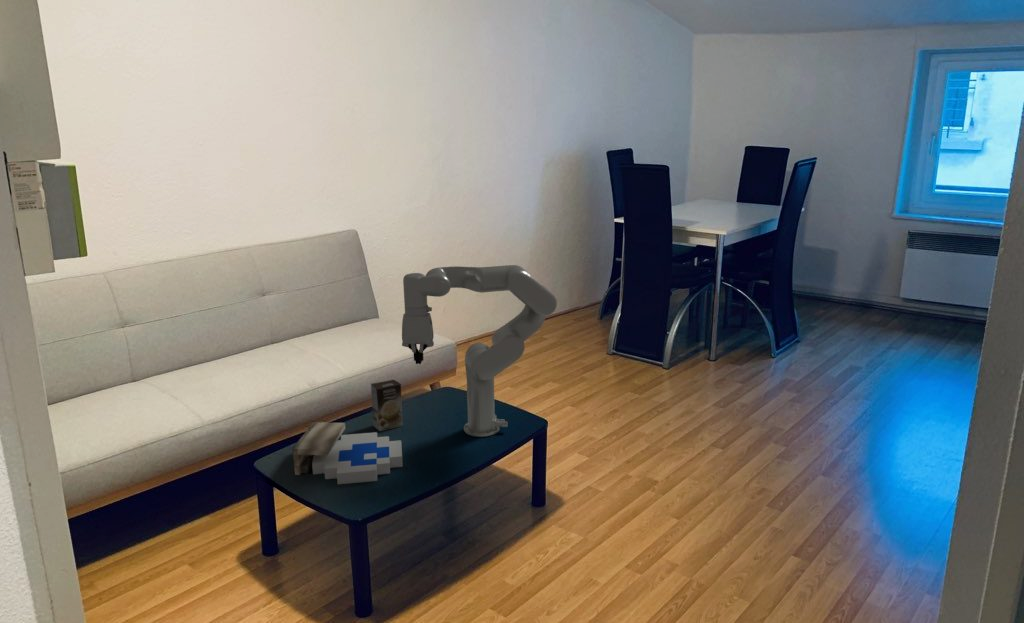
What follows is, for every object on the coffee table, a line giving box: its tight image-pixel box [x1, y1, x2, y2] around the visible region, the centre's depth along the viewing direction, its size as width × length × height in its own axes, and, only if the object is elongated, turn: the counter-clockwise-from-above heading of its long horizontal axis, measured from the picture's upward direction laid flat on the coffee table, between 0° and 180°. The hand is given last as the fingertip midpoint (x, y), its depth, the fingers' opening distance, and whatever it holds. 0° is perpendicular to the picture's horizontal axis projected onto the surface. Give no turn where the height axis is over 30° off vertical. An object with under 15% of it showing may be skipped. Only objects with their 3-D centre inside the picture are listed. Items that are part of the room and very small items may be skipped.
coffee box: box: [370, 379, 404, 432], centre depth 280 cm, size 9×6×16 cm
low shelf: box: [292, 421, 346, 476], centre depth 255 cm, size 11×20×9 cm, turn 176°
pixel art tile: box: [311, 431, 404, 485], centre depth 255 cm, size 28×4×28 cm
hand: (418, 362), depth 266 cm, fingers closed
